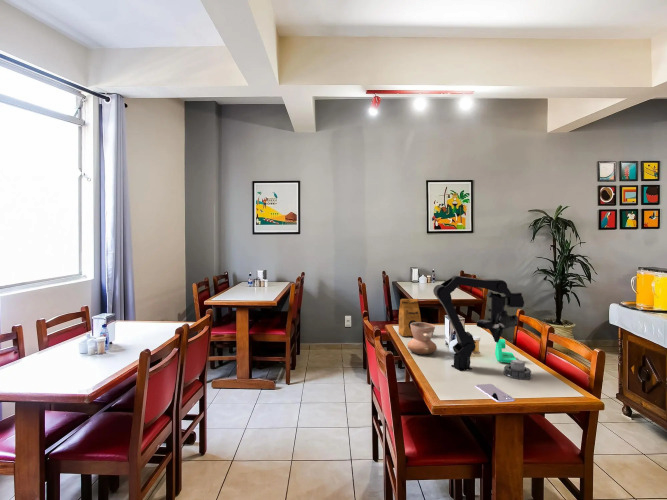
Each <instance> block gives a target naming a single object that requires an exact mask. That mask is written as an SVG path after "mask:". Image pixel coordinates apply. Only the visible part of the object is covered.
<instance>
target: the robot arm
mask: <svg viewBox="0 0 667 500" xmlns="http://www.w3.org/2000/svg"><path fill="white" fill-rule="evenodd" d="M459 286H465V287H472V288H473V287H474V288H480V289H486V290H489V292H488V293H487V294H486V295H485V296H486V297H487V298H490V308H488V312H489V313H490V314H489V315H490V317H488V320H487V319H478V320H477V321H476V327H478V328H482V329H484V330H489V332H490V334H491V336H492V338H493V340H494V343H496V342H499V339H501V337H502V335H503V333H504V331H505V330H506V329H510V328H515V327H518V323H519V317H518V315H516V314H512V315H509V314H508V311H507V310H506V309H505V308H509V309H520V308H521V309H522V308H523V307H524V305H525V300H524V298H523V296H522V294H523V293H522V292H521V291H519V292H518V291H517V292H511V291H510V288H508V283H507V282H506V281H505V280H502V279H498V278H486V279H482V278H474V277H466V276H459V275H453V276H451V277H450V278H449V279H447V280H444V281H443V282H441V284H436V285H435V286H434V288H433V289H432V290H433V291H432V292H433V295H434V296H435V297H436V298H437V300H438V301H439V303H440V304H441V305H442V307H443V309H444V311H445V313H446V315H447V317H448V320H449V321H450V323H451V326H452V327H453V330H454V332H455V336H456V343H455V344H454V345H453V346H452V350H453V352H454V353H453V364H451V366H450V367H452V368H454V369H456V370H458V371H460V372H461V371H468V370H472V369H473V368H472V367H471V357H472V354H473V352H474V351H475V350H476V348H477V347H476V344H477V342H476V341H475V340H474V336H473V334H472V333H471V332H469V331H466V330H465V327H464V326H463V324H462V321H461V319H460V317H459V315H458V312H457V311H456V309H455V307H454V304H453V300H452V293H453V292H455V290H456V289H457V288H458V287H459ZM493 292H495V293H493Z"/></svg>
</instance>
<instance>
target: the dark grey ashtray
mask: <svg viewBox="0 0 667 500" xmlns="http://www.w3.org/2000/svg"><path fill="white" fill-rule="evenodd" d="M502 371H503V372H502V373H503V375H504V376H506V377H507V378H511V379H515V380H519V381H526V380H527V381H528V380H531V379H532V378H533V375H532V370H531V369H530V368H528V367H526V366H525V372H517V371H513V370H511V364H507V365H505V366H504V370H502Z"/></svg>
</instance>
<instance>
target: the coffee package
mask: <svg viewBox="0 0 667 500" xmlns="http://www.w3.org/2000/svg"><path fill="white" fill-rule="evenodd" d="M399 301H400V302H399V303H400V304H399V310H398V334H399V335H400V336H402V337H413V334H412V331H411V325H410V324H411V323H414V322H422V318H421V316H422V315H421V311H420V307H419V298H401V299H400V300H399Z"/></svg>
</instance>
